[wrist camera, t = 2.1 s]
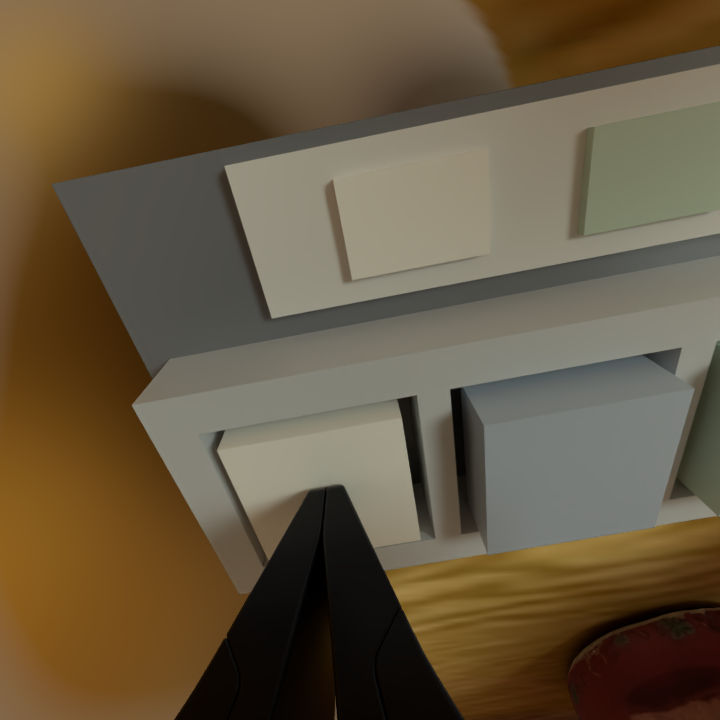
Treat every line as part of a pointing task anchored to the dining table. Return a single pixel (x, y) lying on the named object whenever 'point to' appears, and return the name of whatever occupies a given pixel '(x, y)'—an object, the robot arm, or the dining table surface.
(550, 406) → the slate key
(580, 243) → the keypad
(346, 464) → the ivory key
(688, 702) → the decorative planter
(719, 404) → the sage key
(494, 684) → the dining table surface
